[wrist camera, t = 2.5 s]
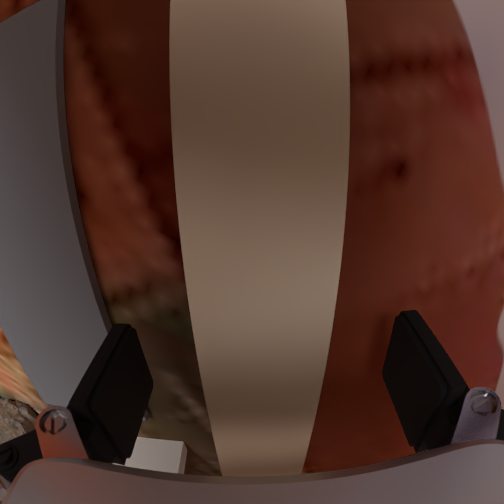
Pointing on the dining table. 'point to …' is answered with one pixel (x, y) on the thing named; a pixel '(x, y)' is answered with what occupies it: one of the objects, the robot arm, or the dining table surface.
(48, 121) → the mat
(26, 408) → the grey rock
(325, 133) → the mottled beige bar
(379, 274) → the dining table surface
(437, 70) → the dining table surface
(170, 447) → the tile
